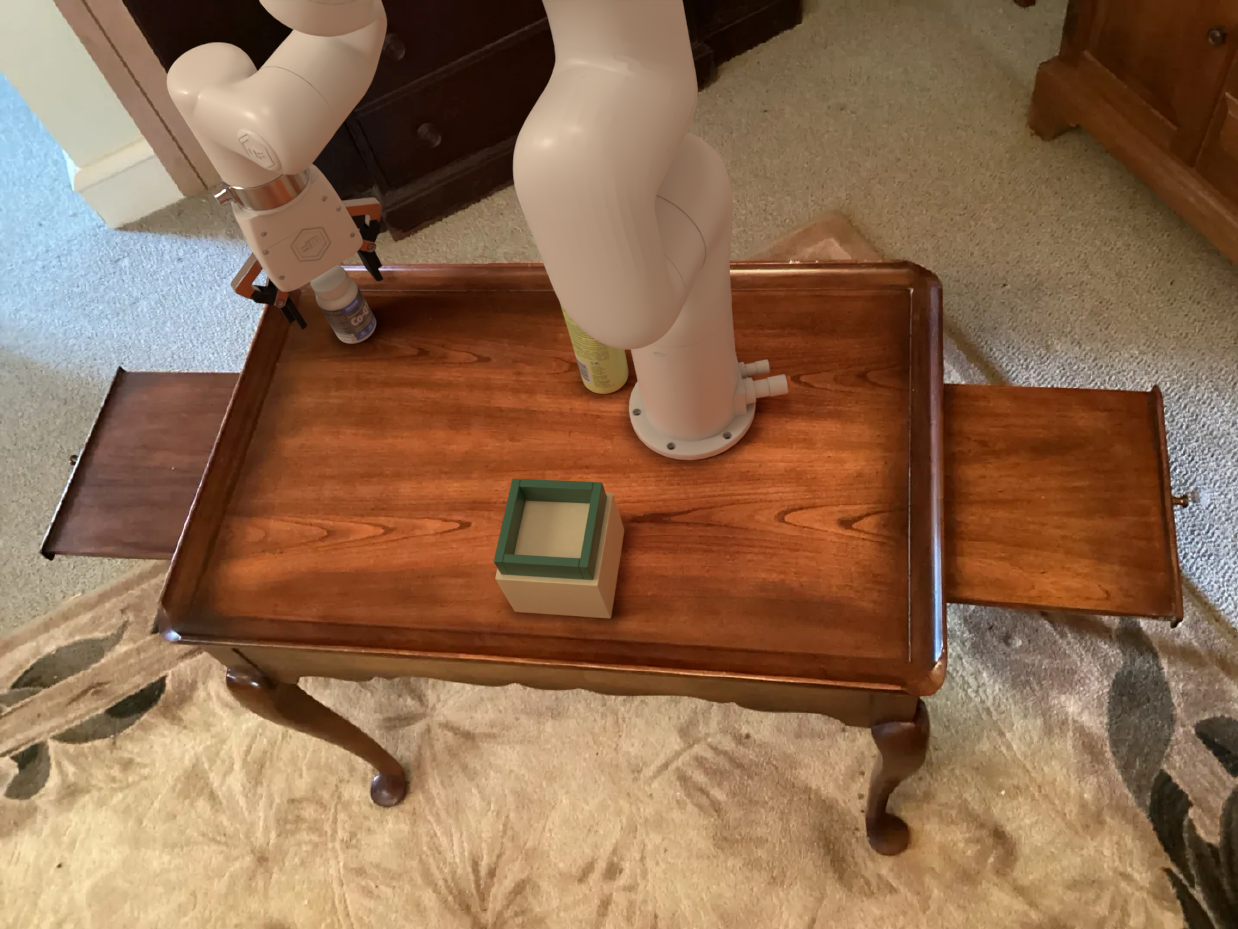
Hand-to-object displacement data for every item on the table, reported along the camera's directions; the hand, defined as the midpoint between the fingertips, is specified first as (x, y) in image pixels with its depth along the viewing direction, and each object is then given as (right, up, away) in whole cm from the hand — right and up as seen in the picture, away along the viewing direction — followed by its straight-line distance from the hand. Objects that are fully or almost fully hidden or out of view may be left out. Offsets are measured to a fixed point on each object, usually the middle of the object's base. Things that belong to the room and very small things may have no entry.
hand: (337, 297), depth 105 cm
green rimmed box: (+26, -28, -16) cm, 42 cm away
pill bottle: (+1, -3, +4) cm, 5 cm away
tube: (+30, -9, -5) cm, 31 cm away
